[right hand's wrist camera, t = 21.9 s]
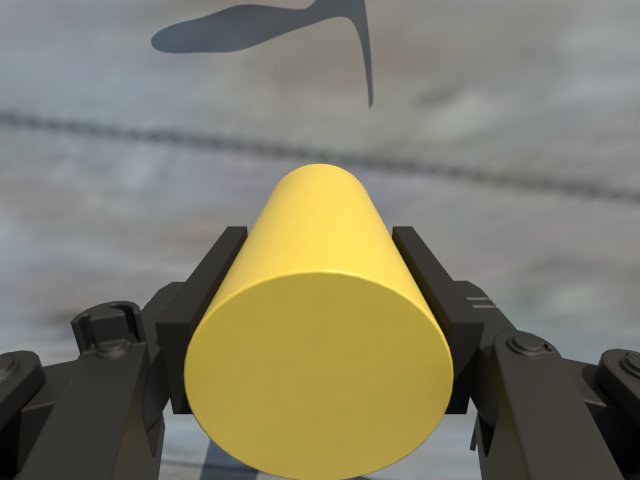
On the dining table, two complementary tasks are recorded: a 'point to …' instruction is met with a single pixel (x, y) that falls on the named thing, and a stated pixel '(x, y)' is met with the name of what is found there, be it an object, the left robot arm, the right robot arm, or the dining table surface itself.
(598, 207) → the dining table surface
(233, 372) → the can
